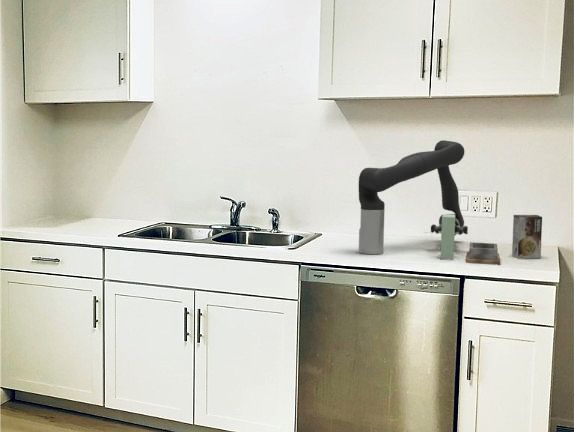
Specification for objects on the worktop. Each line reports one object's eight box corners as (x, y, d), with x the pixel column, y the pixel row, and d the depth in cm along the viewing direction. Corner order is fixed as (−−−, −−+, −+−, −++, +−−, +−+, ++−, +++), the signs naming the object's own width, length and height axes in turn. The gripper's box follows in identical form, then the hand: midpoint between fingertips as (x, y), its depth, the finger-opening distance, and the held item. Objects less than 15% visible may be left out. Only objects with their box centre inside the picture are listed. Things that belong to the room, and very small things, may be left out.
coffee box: (534, 255, 263) (536, 214, 261) (540, 258, 257) (543, 216, 255) (511, 255, 263) (513, 214, 261) (517, 258, 257) (519, 216, 255)
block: (440, 259, 253) (442, 216, 252) (441, 255, 262) (443, 214, 260) (452, 259, 252) (454, 217, 250) (453, 255, 261) (455, 214, 259)
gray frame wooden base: (465, 262, 247) (466, 248, 246) (466, 254, 264) (467, 241, 263) (500, 264, 244) (500, 250, 243) (498, 256, 261) (499, 243, 260)
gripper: (432, 216, 280) (430, 221, 264) (468, 218, 276) (468, 222, 261) (432, 234, 281) (429, 240, 265) (467, 236, 277) (467, 242, 261)
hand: (448, 231), depth 263 cm, fingers open, 8 cm apart
